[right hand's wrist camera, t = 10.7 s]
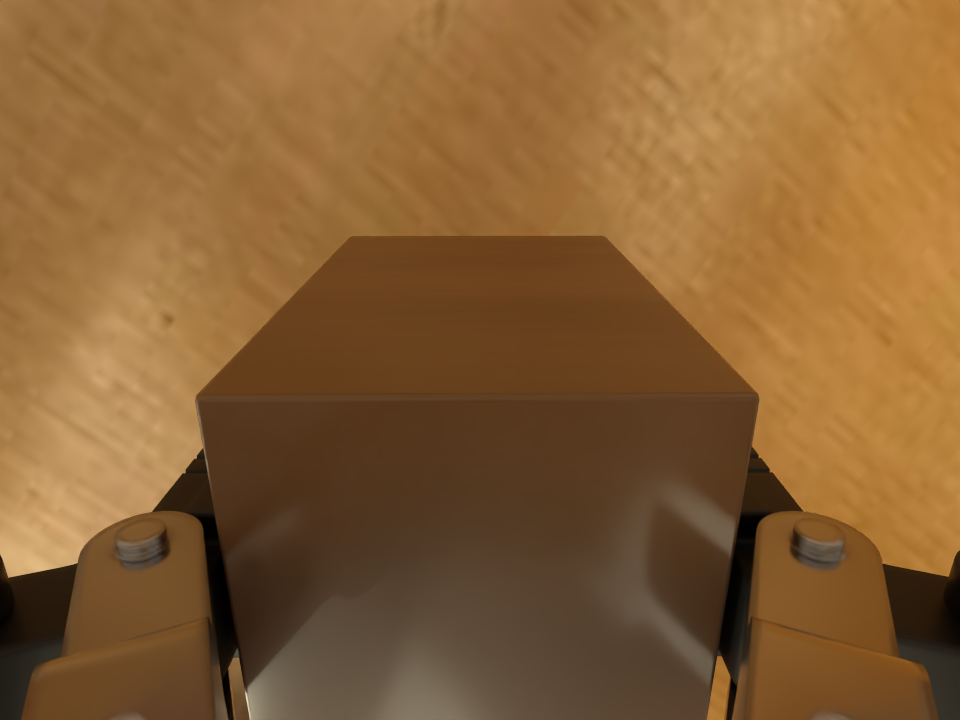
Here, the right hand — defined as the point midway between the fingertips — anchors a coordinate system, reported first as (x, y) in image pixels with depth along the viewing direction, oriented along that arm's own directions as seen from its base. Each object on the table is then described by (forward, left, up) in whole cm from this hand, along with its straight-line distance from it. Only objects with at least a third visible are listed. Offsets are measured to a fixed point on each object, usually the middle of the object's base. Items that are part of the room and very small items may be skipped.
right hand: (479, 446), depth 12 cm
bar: (+4, -9, -4) cm, 11 cm away
